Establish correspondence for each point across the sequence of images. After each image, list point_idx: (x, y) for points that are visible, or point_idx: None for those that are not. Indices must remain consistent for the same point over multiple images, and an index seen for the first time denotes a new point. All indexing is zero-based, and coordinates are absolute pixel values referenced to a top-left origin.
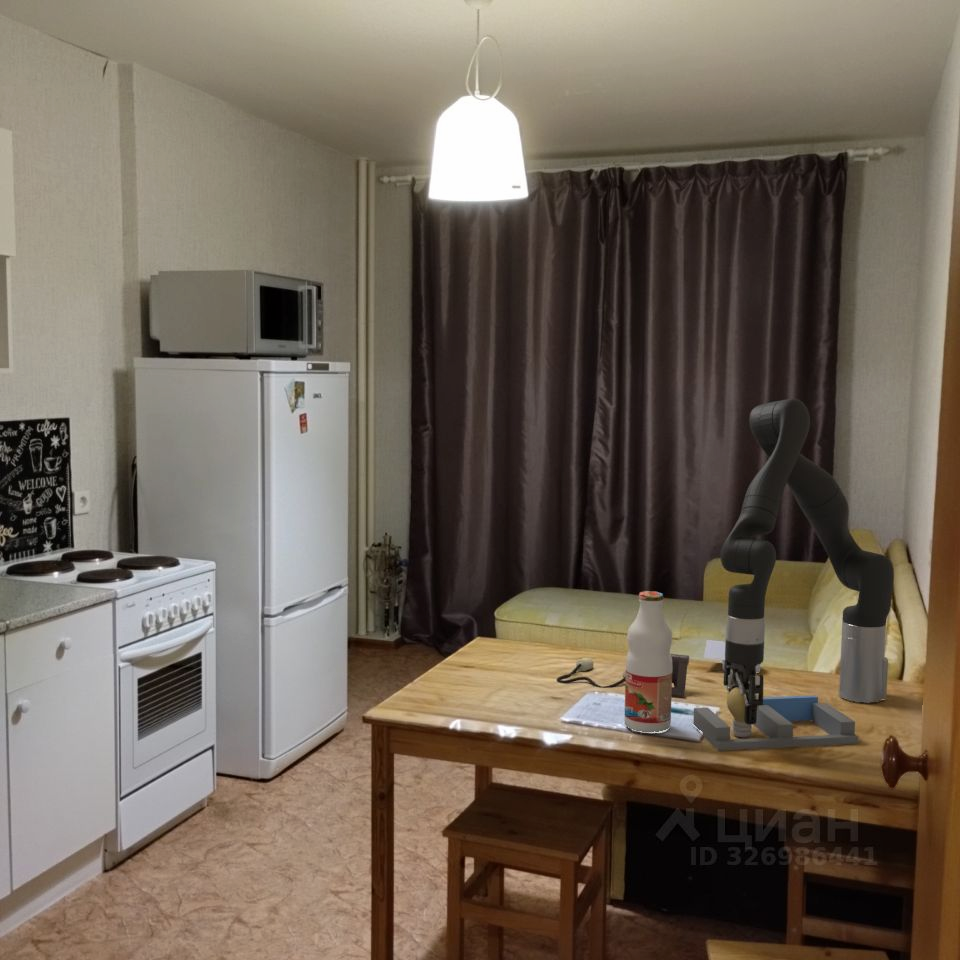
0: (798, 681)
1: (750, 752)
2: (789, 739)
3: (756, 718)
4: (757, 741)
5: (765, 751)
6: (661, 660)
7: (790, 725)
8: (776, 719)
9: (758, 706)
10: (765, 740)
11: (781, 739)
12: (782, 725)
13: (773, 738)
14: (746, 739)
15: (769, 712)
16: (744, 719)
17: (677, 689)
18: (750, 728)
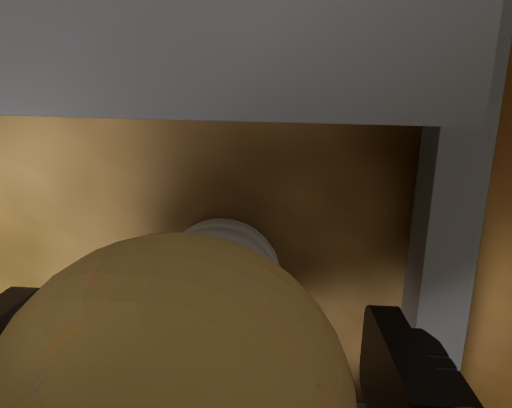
0: None
1: (492, 334)
2: (505, 58)
3: (406, 322)
4: (471, 295)
5: (503, 247)
6: None
7: (496, 4)
8: (337, 79)
9: (299, 287)
10: (472, 239)
11: (486, 119)
12: (487, 91)
13: (452, 168)
14: None
15: (134, 52)
16: (365, 400)
17: None
18: (266, 255)
